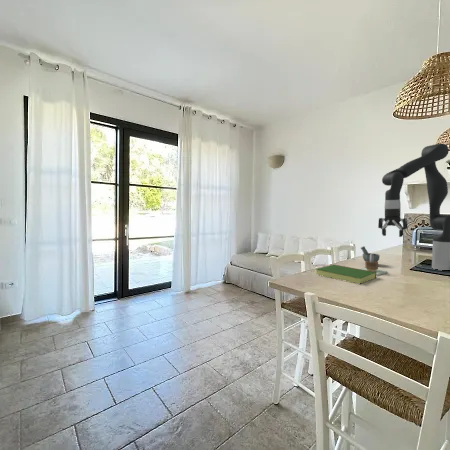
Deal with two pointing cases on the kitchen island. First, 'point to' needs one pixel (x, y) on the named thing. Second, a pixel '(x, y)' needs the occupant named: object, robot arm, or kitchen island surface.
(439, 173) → the robot arm
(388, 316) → the kitchen island surface
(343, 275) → the hardcover book
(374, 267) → the ring
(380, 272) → the post
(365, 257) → the mortar and pestle
